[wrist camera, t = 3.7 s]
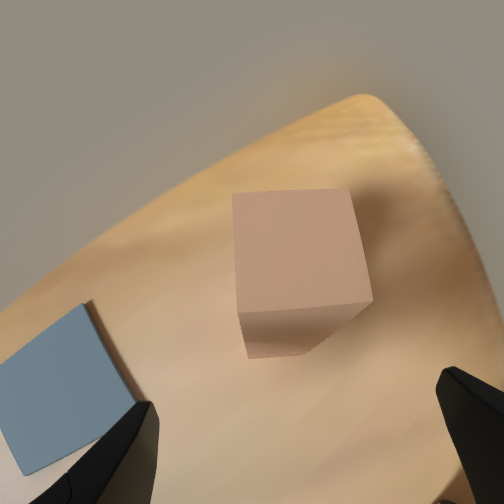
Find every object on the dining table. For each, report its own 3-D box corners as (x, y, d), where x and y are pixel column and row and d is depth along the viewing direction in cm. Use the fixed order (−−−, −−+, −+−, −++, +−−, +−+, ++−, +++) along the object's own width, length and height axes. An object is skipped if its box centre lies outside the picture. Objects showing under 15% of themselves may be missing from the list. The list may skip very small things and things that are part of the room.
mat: (85, 305, 21) (81, 302, 20) (144, 411, 18) (141, 412, 17) (-14, 380, 17) (-18, 380, 17) (28, 475, 14) (24, 476, 14)
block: (304, 354, 19) (373, 300, 8) (248, 358, 19) (237, 312, 8) (299, 300, 21) (348, 188, 9) (245, 304, 21) (232, 193, 9)
